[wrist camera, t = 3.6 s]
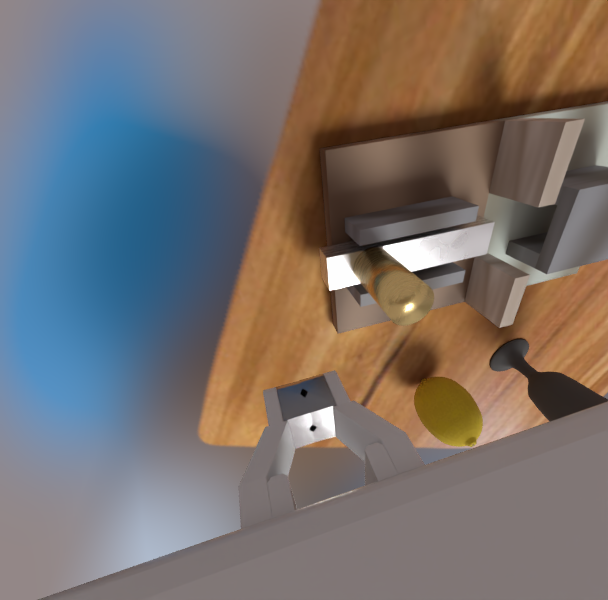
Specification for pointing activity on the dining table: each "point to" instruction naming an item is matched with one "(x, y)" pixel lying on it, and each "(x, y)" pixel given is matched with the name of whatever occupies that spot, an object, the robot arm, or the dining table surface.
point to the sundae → (546, 383)
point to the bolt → (402, 265)
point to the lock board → (476, 204)
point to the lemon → (448, 411)
